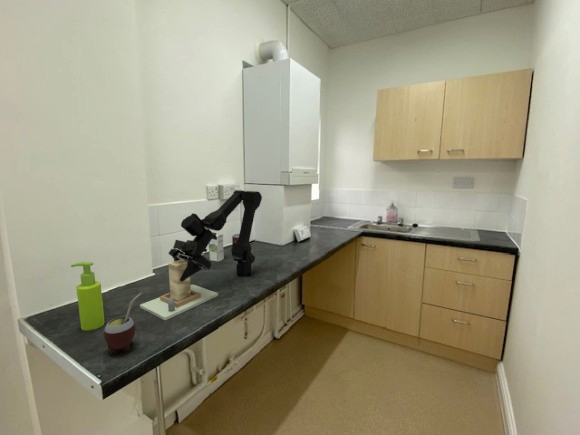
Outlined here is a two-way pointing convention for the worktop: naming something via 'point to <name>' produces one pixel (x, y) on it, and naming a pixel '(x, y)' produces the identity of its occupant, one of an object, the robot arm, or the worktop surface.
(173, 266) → the pine post
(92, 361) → the worktop surface
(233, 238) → the soda can
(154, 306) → the seat plate
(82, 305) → the soap dispenser
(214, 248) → the syrup box
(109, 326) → the mate gourd
